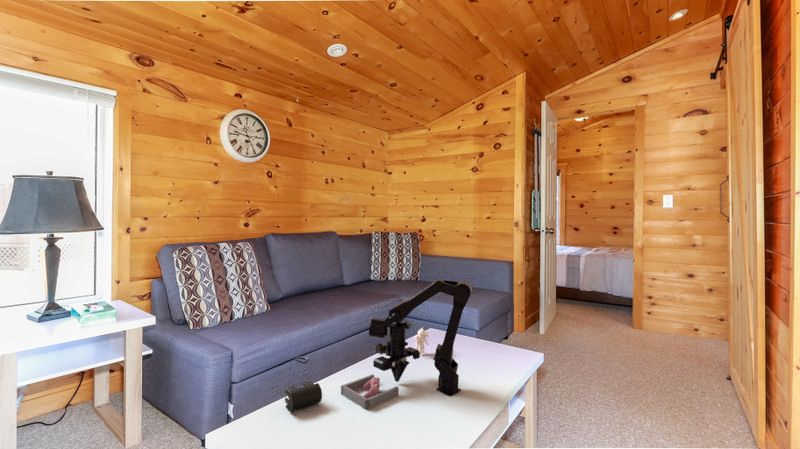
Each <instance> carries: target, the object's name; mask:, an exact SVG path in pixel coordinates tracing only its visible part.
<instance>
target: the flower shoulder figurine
mask: <svg viewBox="0 0 800 449" xmlns="http://www.w3.org/2000/svg"><path fill="white" fill-rule="evenodd" d="M428 338H429V333H428V332H427V331H425V330H424V327H421V328H419V329H418V330H417V334H416V335H415V336H413V340H414V342H415V349H417V350H418V351H419V352H420V357H423V355H426V354H427V353H426V352H425V345H427V346H429V342H428Z"/></svg>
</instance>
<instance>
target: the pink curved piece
mask: <svg viewBox="0 0 800 449" xmlns="http://www.w3.org/2000/svg"><path fill="white" fill-rule="evenodd" d="M380 381H381V379H380V377H377V376H374V377H372V379H371V380H369V381H368V382H367V383H365V384H364V386H363V388H362V389H363V390H364V391H367V392H366V393H365V394H364V395H363V396H364V397H365V398H370V397H372V396H375V395H377V394H379V393H381V390H380Z"/></svg>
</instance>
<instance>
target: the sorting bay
mask: <svg viewBox="0 0 800 449" xmlns="http://www.w3.org/2000/svg"><path fill="white" fill-rule="evenodd" d="M372 377H375V374H370V375H367V376H364V377H361V378H358V379H356V380H353V381H350V382H348V383H345V384H342V385H341V386H340V396H341V395H342V396H343V397H344V398H346V399H348V400H349V401H351V402H353V403H354V404H355V405H358V406H360V407H361V408H363V409H364V410H366V411H368V410H370V409H372V408H375V407H377V406H379V405H381V404H383V403H385V402H388V401H391V400H393V399H394V398H397V397H399V389H400V388H399V387H398V386H395V387H392V388H389V389H387V390H385V391H381V392H380V393H379V394H377V395H375V396H372V397H370V398H365V397H364V395H362V394H360V393H358V392H357V390H361V389H363V386H364V384H365V383H367V382H368V381H369V380H371V379H372Z"/></svg>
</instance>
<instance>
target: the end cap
mask: <svg viewBox="0 0 800 449" xmlns="http://www.w3.org/2000/svg"><path fill="white" fill-rule="evenodd" d="M302 386H303V387H296V386H295V385H292V386H288V387H286V388H285V391H284V394H285V395H286V397H284V402H285V408H286V409H287V411H289V413H294V412H296V411H300V410H303V409H306V408H308V407H312V406H315V405H317V404H319V403H321V401H322V400H323V399H322V398H323V391H322V388H321V385H320V384H319V383H318V382H317V383H313V382H312V381H306V382H303V383H302ZM287 397H288V398H287Z"/></svg>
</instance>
